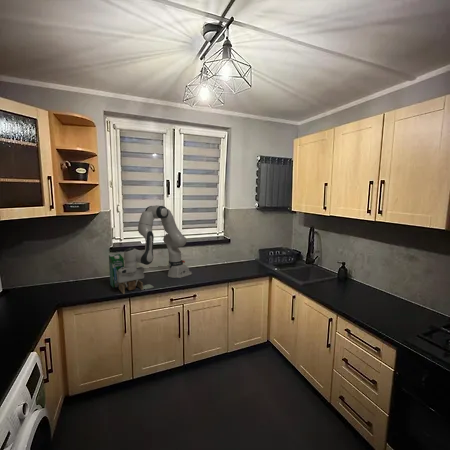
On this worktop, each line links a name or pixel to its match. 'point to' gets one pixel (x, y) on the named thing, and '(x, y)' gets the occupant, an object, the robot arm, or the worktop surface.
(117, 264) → the milk carton
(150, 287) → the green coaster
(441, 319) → the worktop surface
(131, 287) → the walnut block
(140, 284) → the croissant
